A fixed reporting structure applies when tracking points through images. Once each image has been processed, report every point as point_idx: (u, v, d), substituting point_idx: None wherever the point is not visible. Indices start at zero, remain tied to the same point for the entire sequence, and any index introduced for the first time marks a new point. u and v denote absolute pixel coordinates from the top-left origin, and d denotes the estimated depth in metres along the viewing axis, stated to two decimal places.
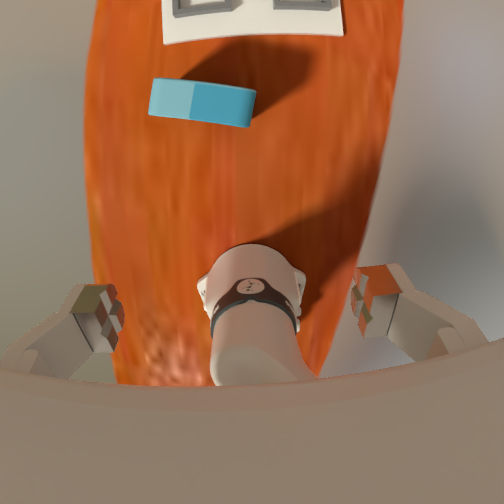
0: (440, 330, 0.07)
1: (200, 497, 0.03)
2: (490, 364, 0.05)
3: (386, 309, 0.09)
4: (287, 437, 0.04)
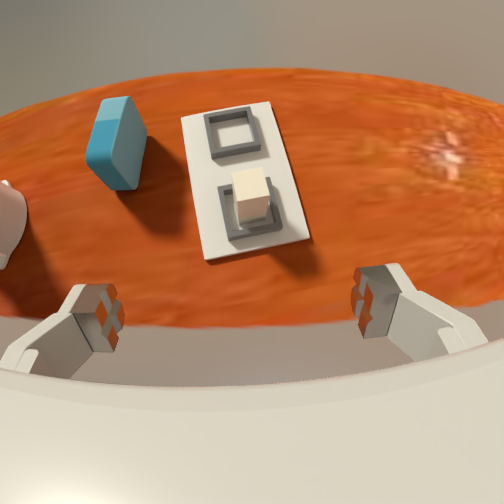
0: (440, 330, 0.07)
1: (200, 498, 0.03)
2: (490, 364, 0.05)
3: (386, 309, 0.09)
4: (287, 437, 0.04)
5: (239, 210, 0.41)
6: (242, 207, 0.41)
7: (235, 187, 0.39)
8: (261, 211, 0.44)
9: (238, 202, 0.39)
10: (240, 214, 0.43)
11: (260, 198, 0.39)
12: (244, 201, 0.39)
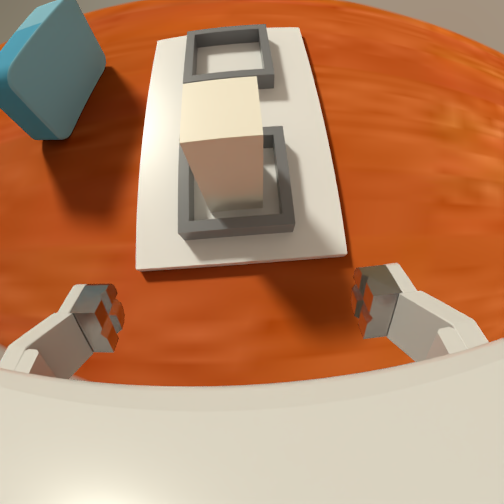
0: (440, 330, 0.07)
1: (199, 498, 0.03)
2: (490, 364, 0.05)
3: (386, 309, 0.09)
4: (287, 437, 0.04)
5: (196, 173, 0.18)
6: (200, 165, 0.17)
7: (183, 112, 0.15)
8: (250, 185, 0.20)
9: (184, 147, 0.15)
10: (203, 185, 0.19)
11: (240, 143, 0.15)
12: (198, 145, 0.15)
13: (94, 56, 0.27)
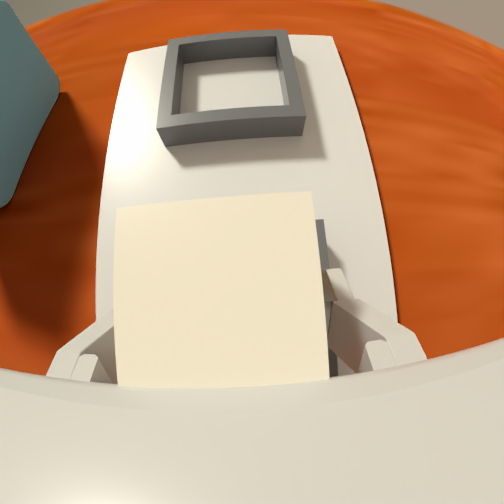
0: (370, 343, 0.07)
1: (199, 498, 0.03)
2: (490, 364, 0.05)
3: None
4: (287, 437, 0.04)
5: None
6: None
7: (120, 312, 0.06)
8: None
9: None
10: None
11: None
12: None
13: (41, 80, 0.18)
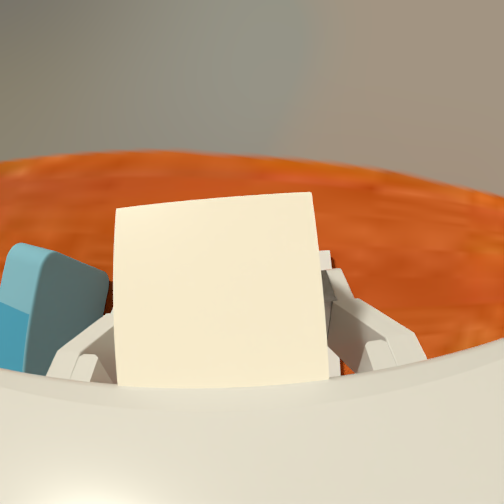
0: (370, 343, 0.07)
1: (199, 498, 0.03)
2: (490, 364, 0.05)
3: None
4: (287, 437, 0.04)
5: None
6: None
7: (119, 313, 0.06)
8: None
9: None
10: None
11: None
12: None
13: (96, 287, 0.28)
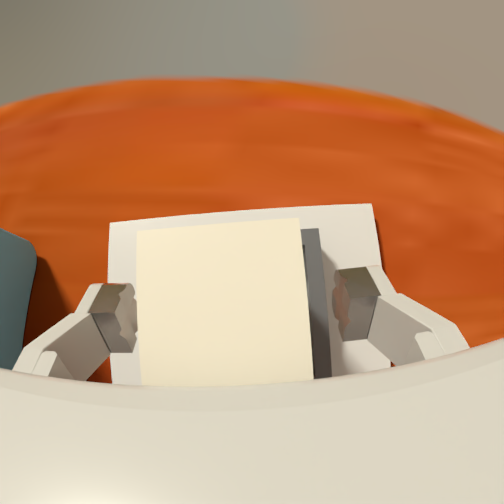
0: (418, 334, 0.07)
1: (199, 497, 0.03)
2: (490, 364, 0.05)
3: (365, 312, 0.09)
4: (287, 437, 0.04)
5: None
6: None
7: (142, 318, 0.07)
8: None
9: None
10: None
11: None
12: None
13: (11, 262, 0.16)
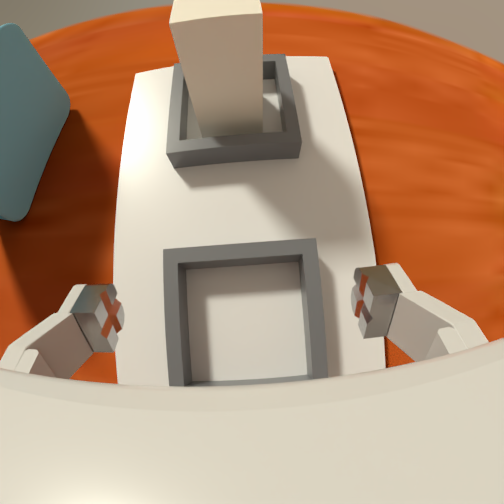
0: (440, 330, 0.07)
1: (200, 498, 0.03)
2: (490, 364, 0.05)
3: (386, 309, 0.09)
4: (287, 437, 0.04)
5: (187, 72, 0.14)
6: (191, 58, 0.13)
7: (176, 3, 0.11)
8: (248, 94, 0.16)
9: (173, 29, 0.11)
10: (194, 92, 0.16)
11: (237, 25, 0.11)
12: (190, 27, 0.11)
13: (52, 99, 0.20)
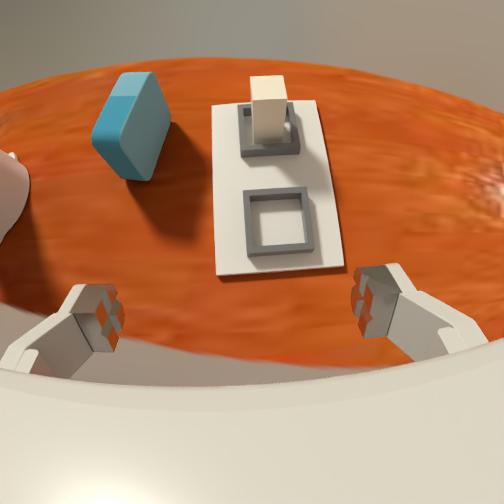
0: (440, 330, 0.07)
1: (199, 497, 0.03)
2: (490, 364, 0.05)
3: (386, 309, 0.09)
4: (287, 437, 0.04)
5: (254, 117, 0.37)
6: (257, 112, 0.36)
7: (252, 88, 0.34)
8: (278, 126, 0.39)
9: (253, 102, 0.34)
10: (255, 124, 0.38)
11: (277, 102, 0.34)
12: (259, 102, 0.34)
13: (165, 116, 0.43)
